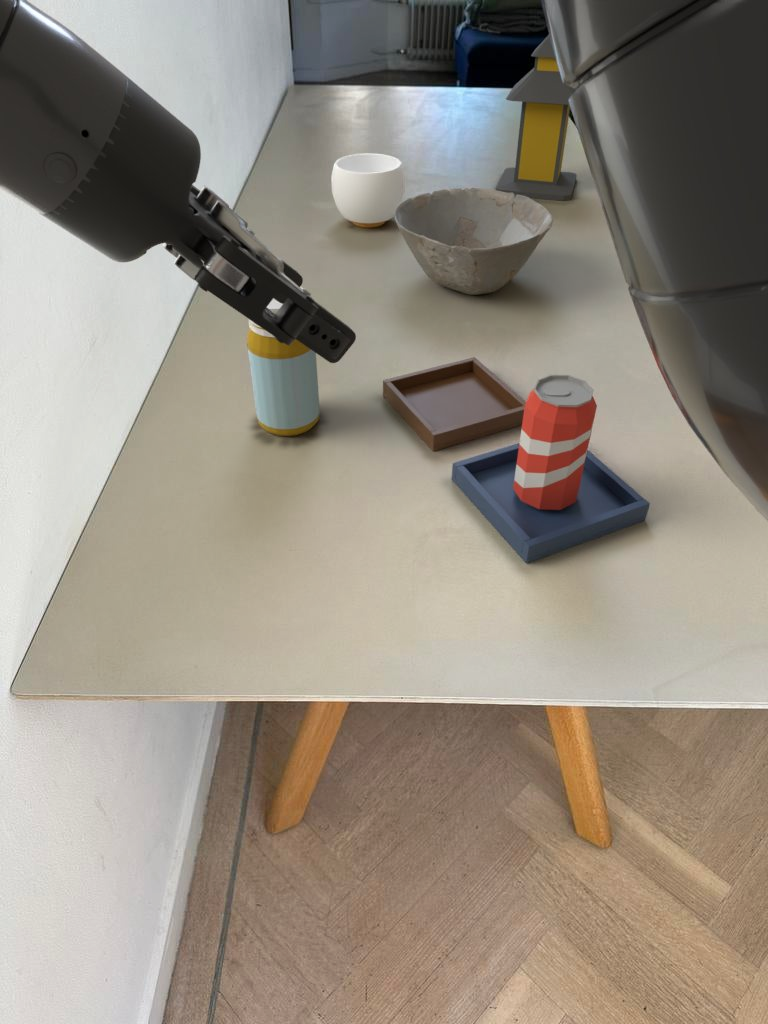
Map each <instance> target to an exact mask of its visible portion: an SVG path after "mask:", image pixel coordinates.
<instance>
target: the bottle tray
mask: <svg viewBox="0 0 768 1024" xmlns="http://www.w3.org/2000/svg"><path fill="white" fill-rule="evenodd" d="M382 396H383V397H384V398H385V400H386V401H387V402H388V403H389V404H390V405H391V406H392V407H393V408H394V410H395V411H396V412H397V413H398V414H399V415H400V416H401V417H402V418H403V420H404V421H405V423H407V424H408V425H409V426H410V427H411V429H412V430H413V431H415V433H416V434H417V435H418V436H419V437H420V438H421V440H422V441H423V442H424V443H425V444H426V445H427V446H428V448H429V449H430V450H431V451H432V452H435V451H439V450H442V449H445V448H446V449H447V448H449V447H452V446H456V445H460V444H463V443H466V442H470V441H473V440H476V439H477V440H478V439H480V438H483V437H487V436H490V435H493V434H497V433H500V432H503V431H507V430H511V429H514V428H518V427H522V422H523V415H524V408H525V403H526V401H527V400H524V398H522V396H520V395H519V394H518V393H517V392H516V391H515V390H513V389H512V388H511V387H510V386H509V385H507V383H505V382H504V381H503V380H502V379H500V378H499V377H498V375H496V374H495V373H494V372H492V371H491V370H490V369H489V368H488V367H487V366H486V365H484V363H482V361H480V360H479V359H477V357H475V356H473V357H470V358H466V359H462V360H456V361H454V362H450V363H445V364H442V365H437V366H434V367H430V368H426V369H421V370H418V371H413V372H410V373H407V374H403V375H398V376H394V377H390V378H387V379H383V380H382Z"/></svg>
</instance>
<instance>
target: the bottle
mask: <svg viewBox="0 0 768 1024" xmlns="http://www.w3.org/2000/svg"><path fill="white" fill-rule="evenodd" d="M300 288H301V289H302V290H303V289H305V288H304V287H302V285H301V286H300ZM282 305H283V304H282V303H279V302H278V301H277V300H275V299H274V298H273V299H272V301H271V302H270V303H269V305H268V306H267V308H268V309H269V310H271V311H272V312H273V313H274V314H276V313H277V311H278V310H279V309H280V307H281V306H282ZM248 326H249V328H248V333H247V336H246V342H247V345H246V346H247V352H248V362H249V367H250V375H251V383H252V384H251V385H252V390H253V398H254V407H255V414H256V418H257V423H258V424H259V426H260V427H261V428H262V429H263V430H264V431H266V432H268V433H270V434H272V435H275V436H279V437H293V436H299V435H301V434H305V433H306V432H308V431H310V430H311V429H312V428H313V427H314V426H316V424H317V423H318V421H319V419H320V416H321V415H320V414H321V413H320V412H321V409H320V407H321V406H320V395H319V393H320V392H319V380H318V379H319V378H318V377H319V376H318V365H317V364H318V363H317V353H315V352H314V351H312V350H311V349H309V348H308V347H306V346H305V345H304V344H302V343H301V342H299V341H298V340H296V339H295V340H294V341H293V342H292V344H291V345H290V346H288V345H286V344H285V343H283V344H282V343H280V342H279V341H278V340H276V339H275V336H273V335H272V334H270V333H269V332H267V331H266V330H264V329H263V328H261V327H260V326H258V325H257V324H256V323H254V322H253V321H251V320H250V319H248Z"/></svg>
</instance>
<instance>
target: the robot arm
mask: <svg viewBox="0 0 768 1024" xmlns="http://www.w3.org/2000/svg"><path fill="white" fill-rule="evenodd" d="M540 3H541V7H542V10H543V15H544V19H545V23H546V27H547V31H548V35H549V36H550V40H551V44H552V47H553V51H554V54H555V58H556V61H557V65H558V68H559V72H560V75H561V79H562V82H563V83H564V84H566V85H567V86H569V87H572V88H575V89H573V91H572V93H571V95H570V97H569V100H568V101H569V104H570V111H571V114H572V117H573V121H574V123H575V127H576V129H577V133H578V136H579V139H580V142H581V145H582V148H583V152H584V155H585V158H586V162H587V164H588V167H589V171H590V173H591V177H592V180H593V184H594V186H595V190H596V193H597V196H598V199H599V202H600V205H601V209H602V212H603V215H604V218H605V220H606V224H607V227H608V231H609V233H610V237H611V240H612V243H613V246H614V249H615V252H616V256H617V259H618V262H619V265H620V268H621V272H622V275H623V279H624V281H625V283H626V284H627V286H628V287H627V289H628V292H629V296H630V298H631V301H632V304H633V307H634V309H635V312H636V315H637V318H638V320H639V323H640V326H641V328H642V331H643V333H644V335H645V338H646V340H647V343H648V345H649V348H650V351H651V353H652V355H653V357H654V360H655V363H656V365H657V367H658V368H657V369H658V370H659V372H660V374H661V376H662V378H663V380H664V382H665V385H666V387H667V389H668V391H669V393H670V395H671V397H672V399H673V400H674V402H675V404H676V406H677V407H678V410H679V411H680V412H681V415H682V416H683V417H684V420H685V421H686V423H687V424H688V426H689V427H690V429H691V430H692V431H693V432H694V434H695V436H696V437H697V438H698V439H699V441H700V442H701V443H702V444H703V446H704V448H705V449H706V450H707V452H708V453H709V455H710V456H711V457H712V458H713V460H714V461H715V463H716V464H717V466H718V467H719V468H720V470H721V471H722V473H724V475H725V476H726V477H727V479H729V481H730V482H731V483H732V484H733V485H734V486H735V487H736V488H737V490H738V491H739V493H741V494H742V495H743V496H744V497H745V499H746V500H747V501H748V502H749V503H750V505H751V506H753V507H754V509H755V510H756V511H757V512H758V514H760V516H762V517H763V519H765V520H766V521H767V522H768V0H540ZM201 152H202V151H201V145H200V141H199V138H198V137H197V135H196V134H195V133H194V131H193V130H192V129H190V127H188V126H187V125H186V124H184V123H183V122H182V121H181V120H180V119H178V118H177V117H176V116H175V115H174V114H173V113H171V112H170V111H169V110H168V109H167V108H165V107H164V106H163V105H162V104H161V103H159V102H158V101H157V100H156V99H155V98H153V96H151V95H150V94H148V93H147V92H146V91H145V90H144V89H142V87H141V86H139V85H138V84H137V83H135V82H134V81H133V80H132V79H131V78H130V77H128V76H127V75H126V74H125V73H124V72H122V71H121V70H120V69H119V68H117V67H116V66H115V65H114V64H113V63H111V62H110V61H109V60H108V58H105V56H103V54H101V53H100V52H99V51H97V50H96V49H95V48H93V46H91V45H90V44H89V43H88V42H87V41H86V40H84V38H81V36H79V35H78V34H77V33H75V32H74V31H73V30H72V29H70V28H69V27H67V26H66V25H64V24H63V23H62V22H60V21H59V20H57V19H55V18H54V17H53V16H51V15H49V14H47V13H46V12H45V11H43V10H41V9H40V8H39V7H37V6H36V5H34V4H33V3H32V2H30V1H29V0H0V190H2V191H3V192H5V193H7V194H8V195H9V196H11V197H13V198H14V199H16V200H17V201H19V202H21V203H22V204H23V205H25V206H27V207H28V208H29V209H32V210H33V211H34V212H36V213H38V214H39V215H41V216H42V217H44V218H46V219H47V220H49V221H50V222H52V223H53V224H55V225H57V226H58V227H59V228H61V229H63V230H65V231H66V232H68V233H69V234H71V235H72V236H74V237H75V238H77V239H79V240H80V241H82V242H83V243H85V244H87V245H88V246H89V247H91V248H93V249H94V250H96V251H97V252H99V253H100V254H103V255H104V256H105V257H107V258H108V259H110V260H111V261H113V262H115V263H116V262H117V263H130V262H133V261H135V260H138V259H139V258H142V257H143V256H144V255H146V254H147V252H148V251H149V250H150V249H152V248H154V247H156V246H158V245H161V244H162V247H163V248H164V249H165V250H166V251H167V252H168V253H169V254H171V255H172V256H173V257H175V258H176V259H175V260H174V261H173V264H174V265H175V266H176V267H177V268H178V269H179V270H180V271H182V272H183V273H184V274H186V275H187V276H188V278H190V279H192V280H193V281H195V282H196V283H197V286H198V287H199V288H200V289H201V290H203V291H204V292H206V293H208V292H209V293H211V294H212V295H213V296H215V297H216V298H218V299H219V300H221V301H222V302H224V303H225V304H226V305H228V306H229V307H231V308H232V309H234V310H235V311H236V312H238V313H240V314H241V315H242V316H243V317H245V318H246V319H248V320H249V319H250V320H251V321H253V322H254V323H256V324H257V325H258V326H260V327H261V328H263V329H264V330H266V331H267V332H269V333H270V334H272V335H273V336H275V339H276V340H278V341H279V342H280V343H282V344H283V343H285V344H286V345H288V346H290V345H291V344H292V342H293V341H294V340H295V339H296V340H298V341H299V342H301V343H302V344H304V345H305V346H306V347H308V348H309V349H311V350H312V351H314V352H315V353H316V355H318V356H319V357H321V358H322V359H324V360H326V361H327V362H328V363H331V364H336V363H338V362H339V361H341V360H342V358H343V357H344V356H345V355H346V353H347V352H348V351H349V349H350V348H351V347H352V346H353V345H354V344H355V341H356V339H357V335H356V332H355V331H354V330H353V329H352V328H351V327H350V326H349V325H347V324H346V323H345V322H344V321H342V320H341V319H339V318H338V317H337V316H335V315H334V314H333V313H331V311H329V310H327V309H326V308H325V307H323V306H322V305H321V304H319V303H318V302H317V301H316V300H315V299H314V298H313V297H312V296H311V295H312V293H311V292H309V291H308V290H307V289H306V288H304V289H303V290H302V289H301V288H300V286H301V287H302V285H303V281H304V279H303V276H302V275H301V274H300V273H299V272H298V271H297V270H296V269H295V268H293V267H292V266H291V265H290V264H288V263H287V262H286V261H284V260H283V259H281V257H280V256H278V255H277V254H276V253H275V252H274V251H272V250H271V248H269V247H268V246H266V245H265V244H264V243H263V242H261V240H260V239H259V238H258V237H256V236H255V235H256V233H255V232H254V231H253V230H252V229H250V228H249V226H248V225H249V224H248V222H247V221H246V220H245V219H244V218H242V217H241V216H240V215H239V214H238V213H237V212H235V211H234V210H233V209H232V208H231V207H230V205H229V204H228V203H227V202H226V201H225V200H224V199H222V198H221V197H220V195H218V194H217V193H216V192H215V191H214V190H212V189H210V188H209V187H208V186H206V185H203V187H202V188H201V189H199V188H197V187H196V186H195V185H194V183H196V181H197V179H198V174H199V171H200V165H201V160H202V153H201ZM273 298H274V299H275V300H277V301H278V302H279V303H282V304H283V305H282V306H281V307H280V309H279V310H278V311H277V313H276V314H274V313H273V312H272V311H271V310H269V309H268V308H267V306H268V305H269V303H270V302H271V301H272V299H273Z"/></svg>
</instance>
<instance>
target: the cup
mask: <svg viewBox="0 0 768 1024" xmlns="http://www.w3.org/2000/svg"><path fill="white" fill-rule="evenodd" d="M330 180H331V194H332V197H333V200H334V204H335V207H336V208H337V210H338V211H339V213H340V215H341V216H342V217H343V218H344V219H346V220H347V221H349V222H352V224H353V225H355V226H356V227H359V228H377V227H380V226H383V224H385V223H386V222H388V221H390V220H391V219H393V218H395V216H394V215H395V212H396V210H397V208H398V206H399V205H400V204H401V203H402V202H403V199H404V195H405V192H406V190H405V187H406V186H405V185H406V184H405V183H406V174H405V170H404V166H403V163H402V161H401V160H400V159H399V158H398V157H394V156H392V155H389V154H383V153H373V152H371V153H370V152H366V153H364V152H363V153H354V154H349V155H345V156H344V155H343V156H342V157H340V158H337V159H336V160H335V162H334V164H333V168H332V172H331V179H330Z"/></svg>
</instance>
